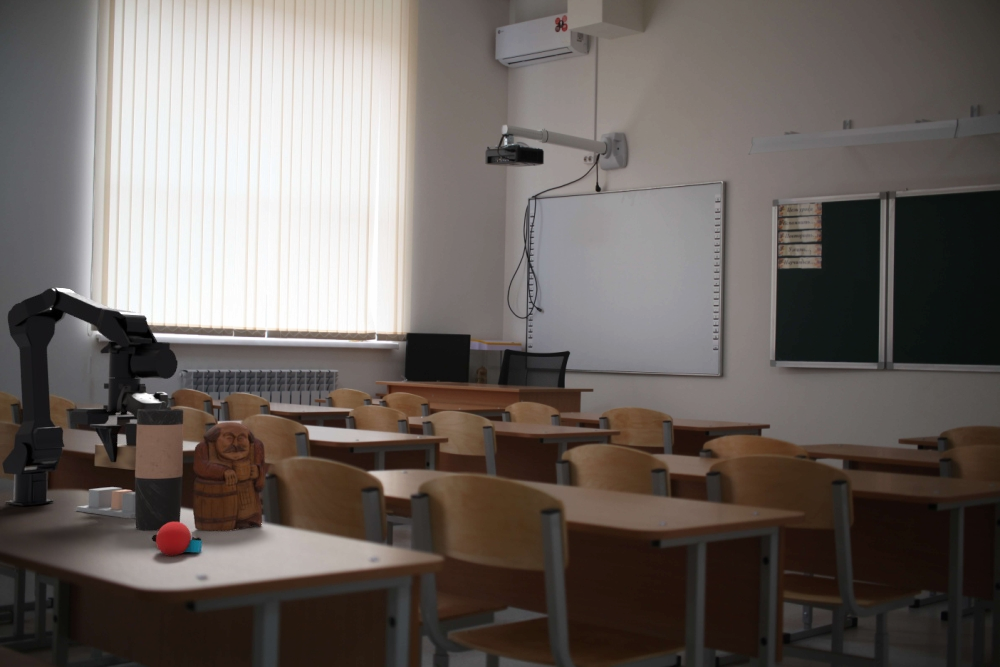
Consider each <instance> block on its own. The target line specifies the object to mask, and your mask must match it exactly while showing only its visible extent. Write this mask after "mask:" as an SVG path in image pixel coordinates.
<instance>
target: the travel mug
mask: <svg viewBox="0 0 1000 667" xmlns="http://www.w3.org/2000/svg"><path fill="white" fill-rule="evenodd" d="M183 453H184V409H182V408H173V409H172V408H171V410H157V409H139V410H138V411H137V436H136V464H135V470H134V477H135V478H134V492H135V518H134V519H135V521H134V522H135V529H136V530H139V531H153V532H154V531H155V532H158V531H159V530H160V528H161V527H162V526H163V525H165V524H167V523H169V522H180V523H181V512H182V511H181V507H182V491H183V472H184V471H183V468H184V466H183V465H184V464H183V460H184V459H183V458H184V457H183V455H184V454H183Z"/></svg>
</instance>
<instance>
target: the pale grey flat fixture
mask: <svg viewBox="0 0 1000 667" xmlns="http://www.w3.org/2000/svg"><path fill="white" fill-rule="evenodd" d="M75 510H76V512H81V513H82V512H83V513H90V514H96V515H101V516H102V515H103V516H110V517H116V518H125V519H135V491H133V490H131V489H123V487H116V486H115V487H114V486H110V487H99V488H90V489H88V504H87V505H80V506H76V509H75Z"/></svg>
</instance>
